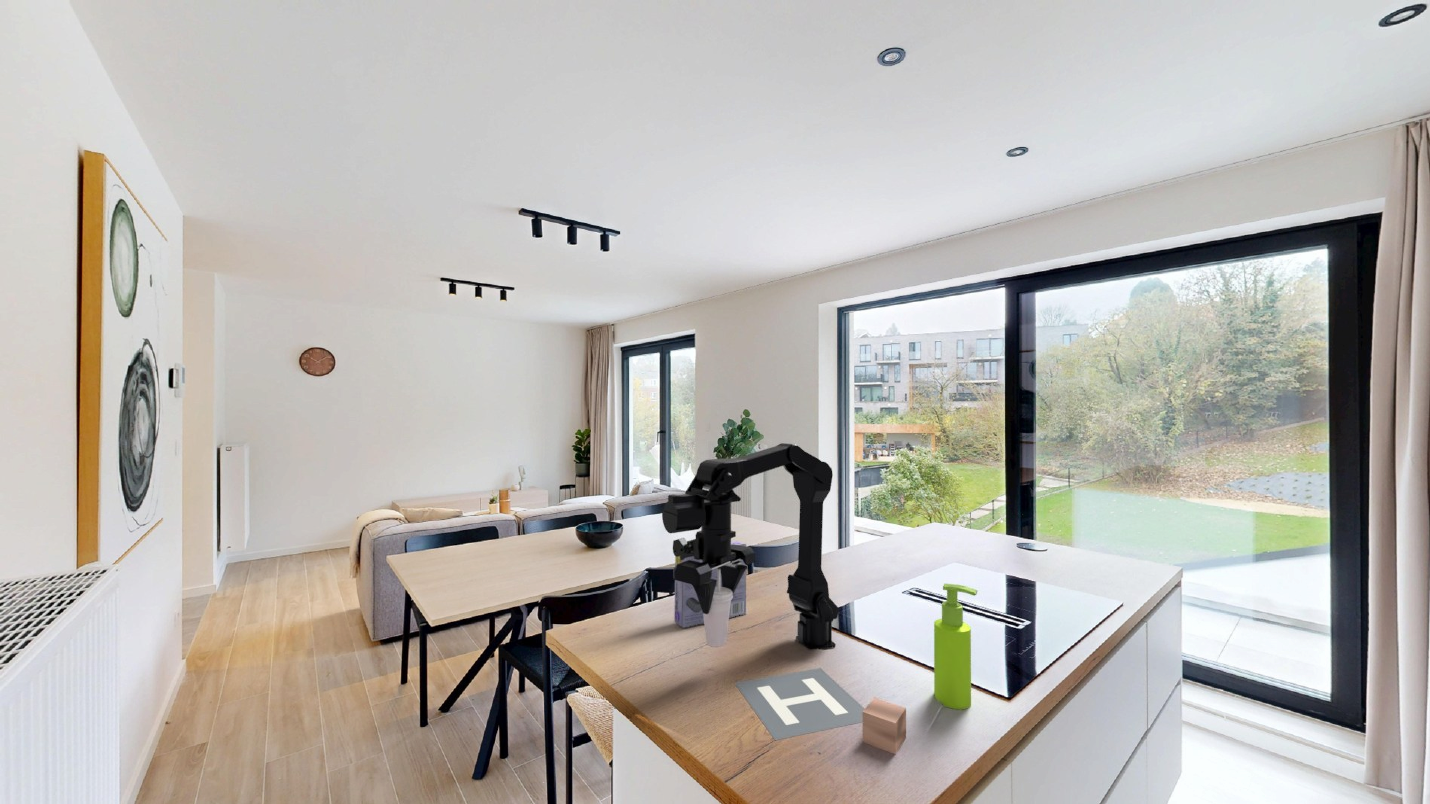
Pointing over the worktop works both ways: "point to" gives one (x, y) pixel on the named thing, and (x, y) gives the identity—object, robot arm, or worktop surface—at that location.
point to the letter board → (800, 703)
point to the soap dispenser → (953, 652)
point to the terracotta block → (884, 725)
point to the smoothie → (718, 616)
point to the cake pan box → (688, 602)
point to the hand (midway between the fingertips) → (716, 608)
